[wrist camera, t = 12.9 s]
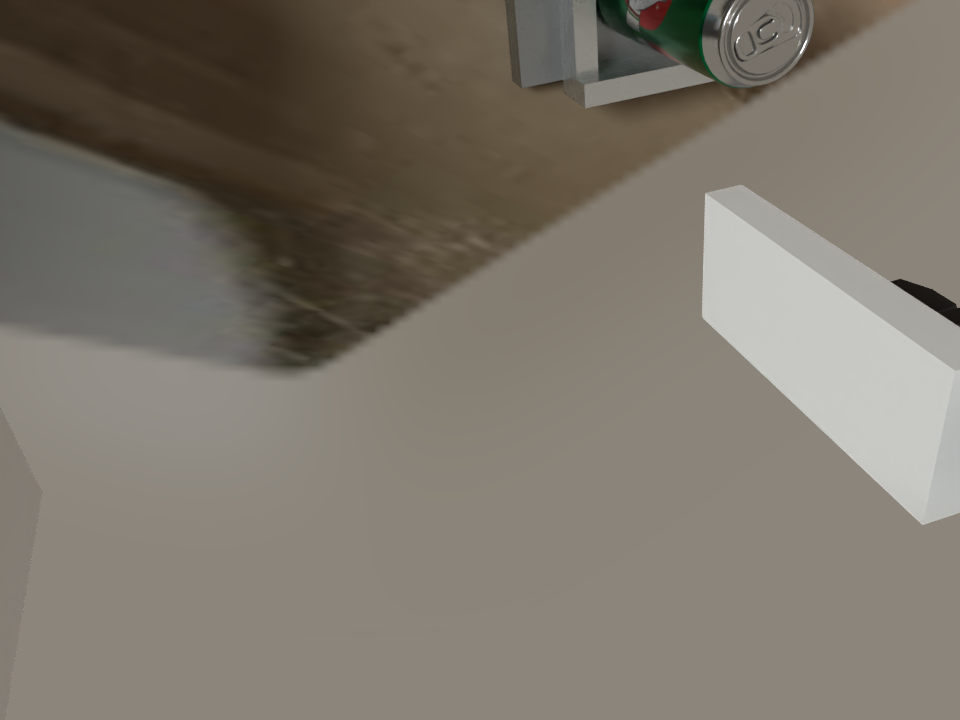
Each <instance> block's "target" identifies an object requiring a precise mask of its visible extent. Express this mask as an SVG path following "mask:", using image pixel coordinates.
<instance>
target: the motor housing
mask: <svg viewBox="0 0 960 720" xmlns="http://www.w3.org/2000/svg"><path fill="white" fill-rule="evenodd" d="M506 11H507V22H508V33H509V44H510V55H511V66H512V77H513V82H515V83H516V84H517V85H518V86H520V87H521V88H526V87H530V86H535V85H540V84H545V83H550V82H555V81H560V80H563V89H564V94H566V95H567V96H569V97H570V98H571V99H573V100H574V101H576V102H577V103H578V104H580V105H581V106H583V107H584V108H590V107H594V106H599V105H604V104H608V103H613V102H618V101H623V100H627V99H632V98H637V97H641V96H646V95H651V94H656V93H660V92H665V91H670V90H675V89H679V88H684V87H689V86H693V85H698V84H703V83H708V82H712V81H714V80H712V79H710V78H708V77H706V76H704V75H702V74H700V73H698V72H696V71H694V70H692V69H690V68H688V67H686V66H684V65H682V64H680V63H678V62H676V61H674V60H672V59H670V58H668V57H666V56H664V55H662V54H659V53H657V52H655V51H653V50H651V49H649V48H647V47H645V46H643V45H641V44H639V43H637V42H635V41H633V40H631V39H629V38H627V37H625V36H623V35H621V34H619V33H617V32H616V31H614V30H613V29H612V28H611V27H610V26H609V25H608V23H607V22H606V21H605V19H604V17H603V15H602V13H601V10H600V7H599V2H598V0H506Z"/></svg>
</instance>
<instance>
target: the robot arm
mask: <svg viewBox="0 0 960 720" xmlns="http://www.w3.org/2000/svg"><path fill="white" fill-rule="evenodd" d="M704 226H705V227H704V261H703V297H702V298H703V299H702V301H703V302H702V317H703V318H704V319H705V320H706V321H707V322H708V323H709V324H710V325H711V326H712V327H713V328H714V329H715V330H716V331H717V332H718V333H720V334H721V335H722V336H723V337H724V338H725V339H726V340H727V341H728V342H729V343H730V344H731V345H732V346H733V347H734V348H735V349H736V350H737V351H739V352H740V353H741V354H742V355H743V356H744V357H745V358H746V359H747V360H748V361H749V362H750V363H751V364H752V365H753V366H754V367H755V368H757V369H758V370H759V371H760V372H761V373H762V374H763V375H764V376H765V377H766V378H767V379H768V380H769V381H770V382H771V383H772V384H774V385H775V386H776V387H777V388H778V389H779V390H780V391H781V392H782V393H783V394H784V395H785V396H786V397H787V398H788V399H790V401H792V402H793V403H794V404H795V405H796V406H797V407H798V408H799V409H800V410H801V411H802V412H803V413H804V414H805V415H807V417H808V418H810V419H811V420H812V421H813V422H814V423H815V424H816V425H817V426H818V427H819V428H820V429H821V430H822V431H823V432H824V433H825V434H827V435H828V436H829V437H830V438H831V439H832V440H833V441H834V442H835V443H836V444H837V445H838V446H839V447H840V448H841V449H843V451H845V452H846V453H847V454H848V455H849V456H850V457H851V458H852V459H853V460H854V461H855V462H856V463H857V464H858V465H859V466H861V467H862V468H863V469H864V470H865V471H866V472H867V473H868V474H869V475H870V476H871V477H872V478H873V479H874V480H875V481H877V483H878V484H880V485H881V486H882V487H883V488H884V489H885V490H886V491H887V492H888V493H889V494H890V495H891V496H892V497H893V498H894V499H895V500H897V501H898V502H899V503H900V504H901V505H902V506H903V507H904V508H905V509H906V510H907V511H908V512H909V513H910V514H911V515H912V516H913V517H915V518H916V519H917V520H918V521H919V522H920V523H921V524H922V525H923V524H927V523H930V522H933V521H936V520H939V519H942V518H945V517H948V516H951V515H954V514H957V513H960V308H957V306H956V304H955V303H953V302H952V301H950V300H948V299H947V298H945V297H944V296H942V295H940V294H939V293H937V292H936V291H934V290H932V289H929V288H926V287H924V286H920V285H917V284H914V283H911V282H908V281H905V280H902V279H898V280H895V281H891V282H890V281H888V280H887V279H885V278H884V277H882V276H881V275H879V274H878V273H876V272H874V271H873V270H871V269H870V268H868V267H867V266H865V265H864V264H862V263H861V262H859V261H858V260H856V259H855V258H853V257H852V256H850V255H848V254H847V253H845V252H844V251H842V250H841V249H839V248H838V247H836V246H835V245H833V244H832V243H830V242H828V241H827V240H825V239H824V238H822V237H821V236H819V235H818V234H816V233H815V232H813V231H812V230H810V229H809V228H807V227H806V226H804V225H803V224H801V223H799V222H798V221H796V220H795V219H793V218H792V217H790V216H789V215H787V214H786V213H784V212H783V211H781V210H780V209H778V208H777V207H775V206H773V205H772V204H770V203H769V202H767V201H766V200H764V199H763V198H761V197H760V196H758V195H757V194H755V193H754V192H752V191H751V190H749V189H747V188H746V187H744V186H743V185H738V186H733V187H729V188H725V189H721V190H717V191H712V192H708V193H706V194H705V224H704ZM41 497H42V490H41V488H40V486H39V484H38V482H37V480H36V478H35V476H34V474H33V472H32V470H31V468H30V467H29V464H28V462H27V460H26V458H25V456H24V454H23V452H22V450H21V448H20V446H19V444H18V442H17V440H16V438H15V436H14V434H13V432H12V430H11V428H10V426H9V424H8V422H7V420H6V418H5V416H4V414H3V412H2V410H1V408H0V720H5V716H6V709H7V703H8V698H9V691H10V684H11V679H12V673H13V667H14V661H15V655H16V649H17V643H18V637H19V631H20V625H21V619H22V613H23V607H24V600H25V594H26V588H27V582H28V576H29V570H30V564H31V558H32V551H33V546H34V540H35V534H36V528H37V522H38V516H39V510H40V503H41Z"/></svg>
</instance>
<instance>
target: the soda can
mask: <svg viewBox="0 0 960 720" xmlns="http://www.w3.org/2000/svg"><path fill="white" fill-rule="evenodd" d="M598 2H599V7H600V10H601V13H602V15H603V17H604V19H605V21H606V22H607V23H608V25H609V26H610V27H611V28H612V29H613V30H614V31H616V32H617V33H619V34H621V35H623V36H625V37H627V38H629V39H631V40H633V41H635V42H637V43H639V44H641V45H643V46H645V47H647V48H649V49H651V50H653V51H655V52H657V53H659V54H662V55H664V56H666V57H668V58H670V59H672V60H674V61H676V62H678V63H680V64H682V65H684V66H686V67H688V68H690V69H692V70H694V71H696V72H698V73H700V74H702V75H704V76H706V77H708V78H710V79H712V80H714V81H717V82H719V83H721V84H723V85H725V86H728V87H732V88H749V87H753V86H756V85H765V84H769V83H771V82H774V81H776V80H778V79H779V78H781V77H783V76H784V75H785V74H787V73H788V72H789V71H790V70H791V69H792V68H793V67H794V66H795V65H796V64H797V63H798V61H799V60H800V59H801V57H802V56H803V54H804V52H805V51H806V49H807V46H808V44H809V42H810V39H811V36H812V32H813V27H814V8H813V3H812V0H598Z"/></svg>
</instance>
